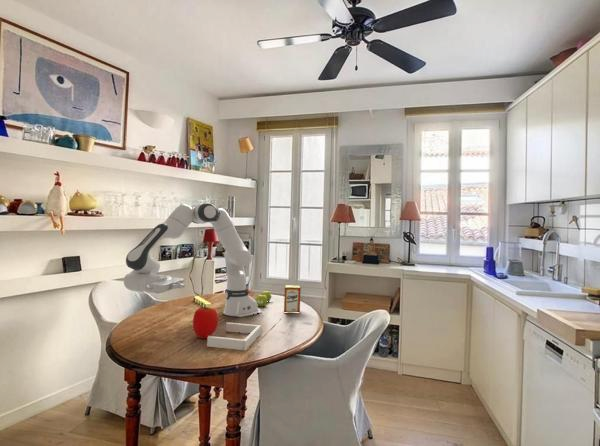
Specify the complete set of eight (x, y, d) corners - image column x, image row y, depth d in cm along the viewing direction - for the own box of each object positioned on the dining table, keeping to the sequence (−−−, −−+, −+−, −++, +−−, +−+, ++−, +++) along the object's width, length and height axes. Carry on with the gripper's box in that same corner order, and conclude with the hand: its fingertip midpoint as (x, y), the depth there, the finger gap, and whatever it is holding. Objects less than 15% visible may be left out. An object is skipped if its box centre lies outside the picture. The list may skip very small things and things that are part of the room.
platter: (213, 298, 233) (214, 293, 233) (233, 308, 208) (233, 303, 208) (166, 303, 214) (166, 298, 214) (181, 315, 189) (181, 309, 189)
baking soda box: (299, 310, 206) (300, 285, 206) (299, 313, 199) (300, 287, 199) (284, 310, 205) (285, 284, 205) (283, 313, 199) (284, 286, 199)
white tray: (207, 346, 143) (207, 337, 143) (227, 330, 164) (227, 322, 164) (245, 350, 140) (246, 341, 140) (261, 333, 161) (261, 325, 161)
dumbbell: (266, 307, 211) (266, 296, 211) (253, 306, 212) (254, 295, 212) (271, 301, 228) (272, 291, 228) (260, 300, 229) (261, 290, 229)
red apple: (192, 333, 159) (193, 303, 159) (216, 331, 162) (217, 302, 162) (192, 342, 147) (193, 310, 147) (218, 340, 150) (219, 309, 150)
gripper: (143, 280, 149) (171, 283, 146) (168, 274, 169) (193, 276, 166) (142, 294, 149) (170, 297, 146) (168, 286, 169) (193, 288, 166)
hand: (183, 286), depth 157 cm, fingers closed
